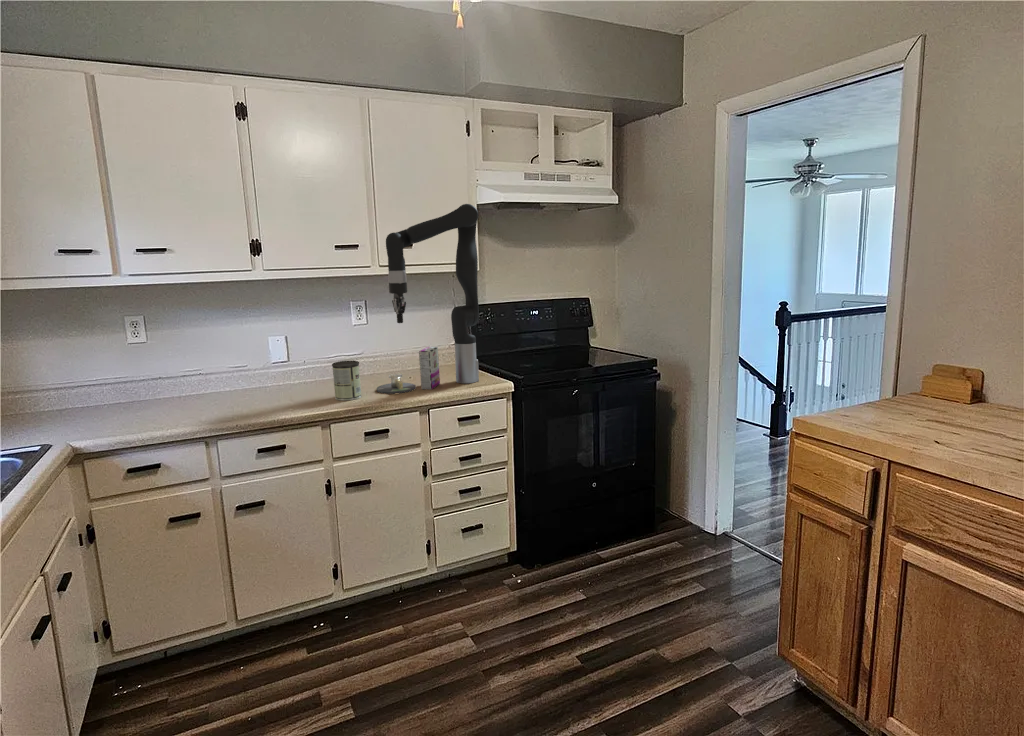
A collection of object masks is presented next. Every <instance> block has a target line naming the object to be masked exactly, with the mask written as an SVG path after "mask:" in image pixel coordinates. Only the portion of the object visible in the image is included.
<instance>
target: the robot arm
mask: <svg viewBox="0 0 1024 736" xmlns="http://www.w3.org/2000/svg"><path fill="white" fill-rule="evenodd" d="M478 220H479V211H478V209H477V208H476V207H475V205H473V204H471V203H463V204H461V205H460V206H459V207H457V208H456V209H454V210H452V211H451V212H449V213H447V214H445V215H442V216H439V217H435V218H432V219H429V220H425V221H422V222H420V223H417V224H414V225H411V226H409V227H408V228H405V229H402V230H400V231H396V232H390V233H389V234H387V235H386V238H385V249H386V255H387V266H388V267H387V270H388V275H387V276H388V277H387V278H388V280H387V281H388V292H389V294H393V297H392V301H391V303H392V305H393V306H392V307H393V310H394V312H395V314H396V323H397V324H403V323H404V316H403V315H404V314H405V312H406V308H407V307H406V305H407V301H405V296H404V294H407V293H408V280H407V279H408V278H407V277H408V276H407V272H406V261H405V257H404V256H405V255H404V248H406V247H409V246H411V245H413V244H418V243H420V242H423V241H426V240H429V239H432V238H434V237H435V236H439V235H441V234H442V233H446V232H448V231H451V230H455V229H456V230H457V238H458V239H457V245H456V256H455V275H456V278H457V280H458V282H459V284H460V286H461V288H462V290H463V292H464V297H465V305H457V306H454V307H453V309H452V310H451V314H450V316H451V317H450V318H451V330H452V337H453V341H454V361H455V381H456V382H455V383H458V384H473V383H476V382H480V376H479V375H480V374H479V359H477V343H476V342H477V338H476V335H474V334H470V333H468V330H467V328H468V327H474V326H476V325H477V324H478V322H479V319H480V318H479V317H480V309H479V295H478V271H479V270H478V269H479V268H478V264H479V263H478V261H479V260H478V250H477V249H478V248H477V243H476V242H477V241H476V234H477V226H478V225H477V223H478Z"/></svg>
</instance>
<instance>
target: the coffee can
mask: <svg viewBox="0 0 1024 736" xmlns="http://www.w3.org/2000/svg"><path fill="white" fill-rule="evenodd" d="M331 366H332V375H333V378H332V379H333V388H334V399H335V400H336V401H339V402H341V401H342V402H343V401H344V402H345V401H348V402H349V401H354V400H357V399H361V398H362V388H361V374H360V361H357V360H342V361H335V362H334V363H332V364H331Z"/></svg>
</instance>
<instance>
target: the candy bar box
mask: <svg viewBox="0 0 1024 736" xmlns="http://www.w3.org/2000/svg"><path fill="white" fill-rule="evenodd" d="M418 356H419V357H418V358H419V360H418V361H419V372H420V386H421V390H426V389H427V390H428V391H429V390H434V389H435V388H436V387H437V386H439V385H440V384H441V378H440V376H441V375H440V362H439V361H440V360H439V347H438V346H426V347H425V348H423V349H421V350H419V351H418Z"/></svg>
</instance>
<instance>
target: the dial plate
mask: <svg viewBox="0 0 1024 736" xmlns="http://www.w3.org/2000/svg"><path fill="white" fill-rule="evenodd" d="M402 383H403V389H398V388H393V387H391V382H389V383H385V384H382V385H379V386H377V387H376V391H377V393H379V392H380V394H384V393H387V394H388V395H396V394H395V393H399V394H405V392H406V393H410V392H413V391H414V389H415V390H416V384H414V383H410V382H402ZM412 390H413V391H412ZM409 391H410V392H409ZM387 394H386V395H387Z"/></svg>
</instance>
